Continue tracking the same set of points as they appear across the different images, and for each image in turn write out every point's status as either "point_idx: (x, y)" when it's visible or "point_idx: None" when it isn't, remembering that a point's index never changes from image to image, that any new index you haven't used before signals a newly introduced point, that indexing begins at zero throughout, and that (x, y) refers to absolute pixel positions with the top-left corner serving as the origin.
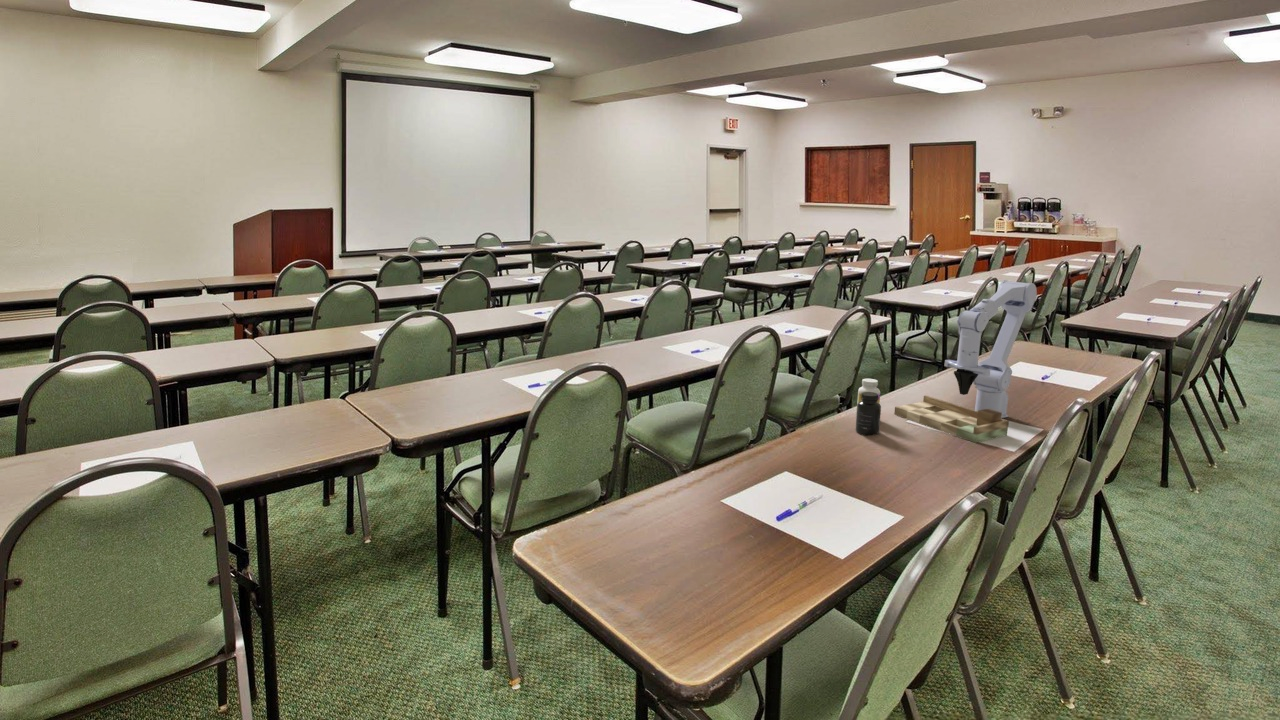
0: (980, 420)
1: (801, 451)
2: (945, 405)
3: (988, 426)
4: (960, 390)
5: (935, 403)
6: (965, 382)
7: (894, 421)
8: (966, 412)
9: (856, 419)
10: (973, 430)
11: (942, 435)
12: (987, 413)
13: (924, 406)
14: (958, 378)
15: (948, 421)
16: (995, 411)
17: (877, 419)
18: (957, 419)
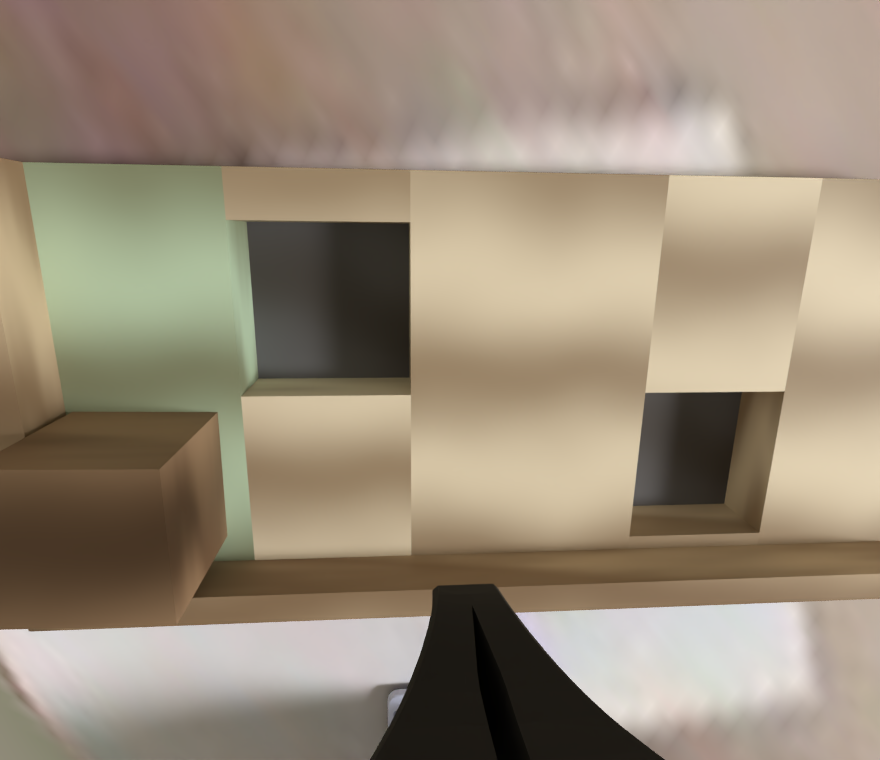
0: (156, 430)
1: None
2: (676, 563)
3: None
4: (488, 609)
5: (773, 554)
6: (390, 731)
7: (789, 7)
8: (455, 567)
9: None
10: (97, 247)
11: (306, 74)
12: (21, 468)
13: (801, 442)
14: (587, 757)
15: (411, 277)
16: (56, 605)
17: None
18: (407, 394)
